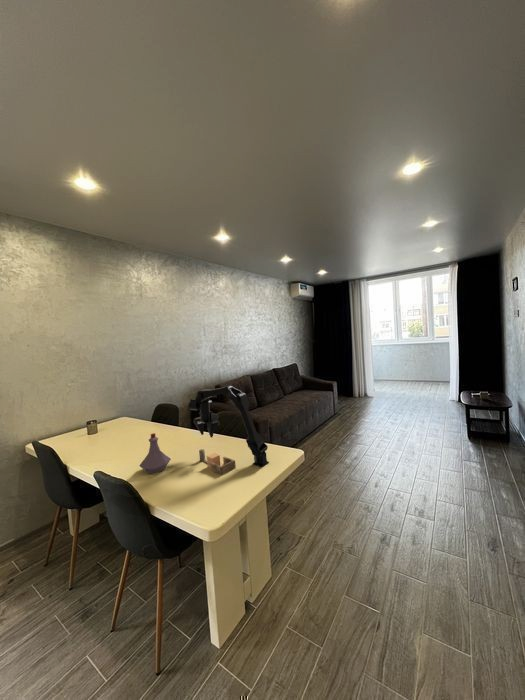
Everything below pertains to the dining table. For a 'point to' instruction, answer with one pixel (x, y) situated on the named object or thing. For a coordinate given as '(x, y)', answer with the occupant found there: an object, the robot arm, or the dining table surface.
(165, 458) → the flask
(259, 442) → the robot arm
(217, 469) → the dark brown open box
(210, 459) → the tethered block
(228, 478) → the dining table surface
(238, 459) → the dining table surface
